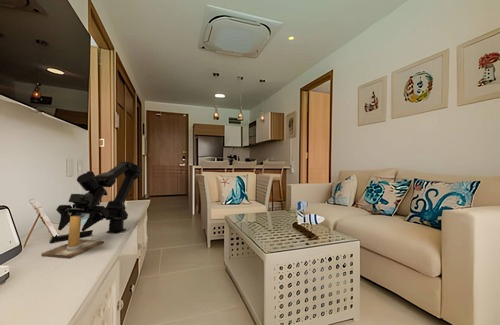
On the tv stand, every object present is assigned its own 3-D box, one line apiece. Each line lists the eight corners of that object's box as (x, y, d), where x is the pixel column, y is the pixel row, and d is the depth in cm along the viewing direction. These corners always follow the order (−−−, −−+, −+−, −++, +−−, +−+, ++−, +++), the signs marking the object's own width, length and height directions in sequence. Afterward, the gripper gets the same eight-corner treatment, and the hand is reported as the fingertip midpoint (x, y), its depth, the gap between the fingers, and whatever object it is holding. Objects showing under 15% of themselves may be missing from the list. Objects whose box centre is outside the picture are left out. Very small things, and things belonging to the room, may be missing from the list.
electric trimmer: (93, 237, 104) (93, 230, 104) (49, 244, 93) (50, 237, 93) (91, 235, 107) (92, 228, 107) (49, 242, 96) (49, 234, 96)
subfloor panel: (80, 241, 96) (80, 238, 96) (104, 243, 95) (104, 240, 95) (41, 256, 81) (41, 253, 81) (69, 258, 79) (69, 255, 79)
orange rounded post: (69, 247, 86) (72, 215, 86) (81, 247, 87) (84, 215, 88) (64, 251, 82) (67, 217, 83) (76, 250, 83) (79, 217, 84)
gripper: (60, 185, 89) (32, 218, 78) (105, 186, 89) (83, 220, 78) (76, 201, 97) (52, 233, 86) (116, 202, 97) (98, 234, 85)
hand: (70, 230), depth 83 cm, fingers open, 9 cm apart
